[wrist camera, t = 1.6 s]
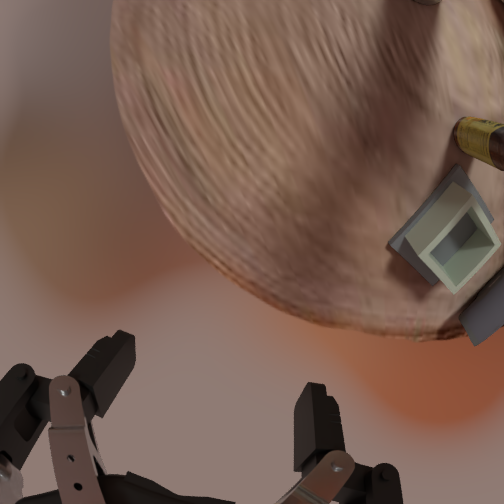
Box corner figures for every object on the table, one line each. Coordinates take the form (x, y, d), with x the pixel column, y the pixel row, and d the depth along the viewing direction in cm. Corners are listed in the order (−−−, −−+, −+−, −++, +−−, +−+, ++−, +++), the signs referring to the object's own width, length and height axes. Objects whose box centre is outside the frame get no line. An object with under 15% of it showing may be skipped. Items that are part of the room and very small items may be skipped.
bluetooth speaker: (464, 323, 47) (479, 354, 38) (451, 306, 45) (468, 339, 37) (527, 260, 36) (549, 285, 27) (519, 236, 34) (545, 261, 25)
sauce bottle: (482, 127, 27) (569, 161, 10) (472, 159, 30) (554, 208, 13) (456, 107, 27) (547, 129, 10) (445, 141, 30) (532, 182, 13)
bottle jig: (456, 163, 31) (480, 177, 25) (490, 216, 34) (511, 235, 28) (388, 241, 40) (401, 266, 34) (430, 282, 43) (443, 307, 37)
